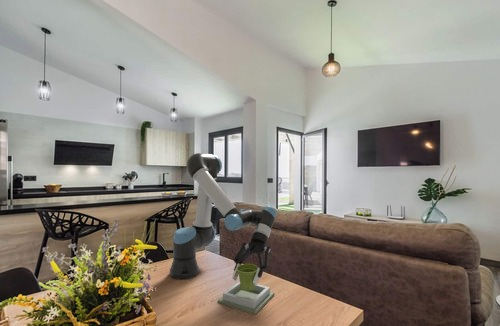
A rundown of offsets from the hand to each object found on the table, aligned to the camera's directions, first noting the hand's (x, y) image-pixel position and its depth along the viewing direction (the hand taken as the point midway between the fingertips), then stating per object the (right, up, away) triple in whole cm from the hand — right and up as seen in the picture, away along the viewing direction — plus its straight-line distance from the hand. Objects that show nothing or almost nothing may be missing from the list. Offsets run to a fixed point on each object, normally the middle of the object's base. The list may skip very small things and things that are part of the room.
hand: (244, 281), depth 109 cm
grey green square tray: (+1, -9, +3) cm, 9 cm away
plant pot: (+1, -4, +3) cm, 5 cm away
